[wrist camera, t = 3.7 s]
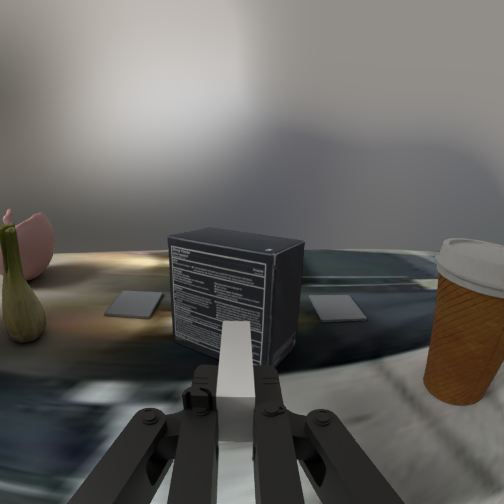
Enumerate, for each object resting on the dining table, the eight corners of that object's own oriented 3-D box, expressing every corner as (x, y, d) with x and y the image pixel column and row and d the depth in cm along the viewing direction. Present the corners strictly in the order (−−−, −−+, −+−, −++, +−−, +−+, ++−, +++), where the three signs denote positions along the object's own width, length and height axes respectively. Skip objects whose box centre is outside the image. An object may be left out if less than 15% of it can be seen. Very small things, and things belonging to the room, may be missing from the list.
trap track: (104, 315, 34) (101, 291, 33) (154, 257, 57) (153, 241, 56) (366, 320, 35) (370, 296, 34) (319, 260, 58) (320, 244, 57)
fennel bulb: (15, 325, 28) (-4, 221, 25) (51, 322, 31) (36, 216, 27) (4, 350, 23) (-22, 231, 20) (46, 347, 26) (23, 226, 22)
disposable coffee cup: (417, 348, 29) (442, 231, 25) (497, 368, 23) (532, 251, 20) (394, 401, 21) (432, 251, 18) (498, 428, 16) (558, 280, 13)
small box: (299, 344, 30) (309, 238, 27) (268, 380, 25) (276, 255, 22) (210, 317, 35) (209, 224, 32) (170, 341, 30) (163, 235, 27)
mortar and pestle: (12, 268, 46) (5, 205, 43) (67, 267, 49) (61, 200, 46) (-18, 292, 35) (-30, 217, 32) (44, 293, 38) (33, 211, 35)
